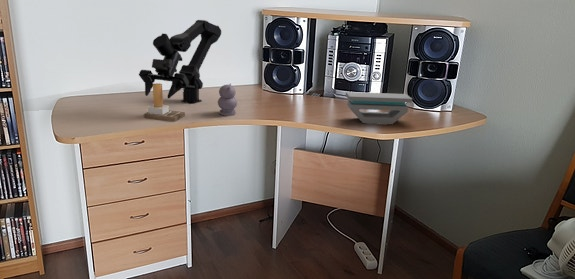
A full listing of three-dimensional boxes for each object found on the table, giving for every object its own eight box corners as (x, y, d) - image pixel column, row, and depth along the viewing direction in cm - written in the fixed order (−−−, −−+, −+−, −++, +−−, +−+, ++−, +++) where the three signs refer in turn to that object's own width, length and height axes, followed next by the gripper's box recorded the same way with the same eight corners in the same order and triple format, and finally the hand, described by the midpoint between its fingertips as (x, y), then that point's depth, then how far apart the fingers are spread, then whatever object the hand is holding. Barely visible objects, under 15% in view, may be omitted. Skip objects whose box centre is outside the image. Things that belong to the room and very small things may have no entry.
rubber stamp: (154, 109, 171) (153, 82, 168) (168, 111, 170) (167, 83, 167) (148, 113, 167) (146, 84, 163) (162, 114, 166) (161, 86, 162)
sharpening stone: (346, 123, 173) (349, 96, 169) (343, 117, 180) (345, 91, 177) (408, 125, 175) (412, 98, 171) (402, 119, 182) (406, 94, 178)
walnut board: (154, 112, 174) (154, 108, 173) (184, 115, 171) (184, 112, 171) (144, 117, 166) (143, 113, 166) (175, 121, 164) (175, 117, 163)
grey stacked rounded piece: (218, 110, 180) (218, 82, 176) (237, 111, 181) (237, 82, 177) (217, 116, 172) (216, 86, 168) (236, 117, 173) (237, 87, 169)
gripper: (139, 48, 167) (125, 82, 161) (184, 52, 164) (172, 87, 157) (151, 66, 177) (138, 98, 170) (194, 70, 173) (182, 103, 167)
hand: (157, 96), depth 166 cm, fingers open, 9 cm apart
